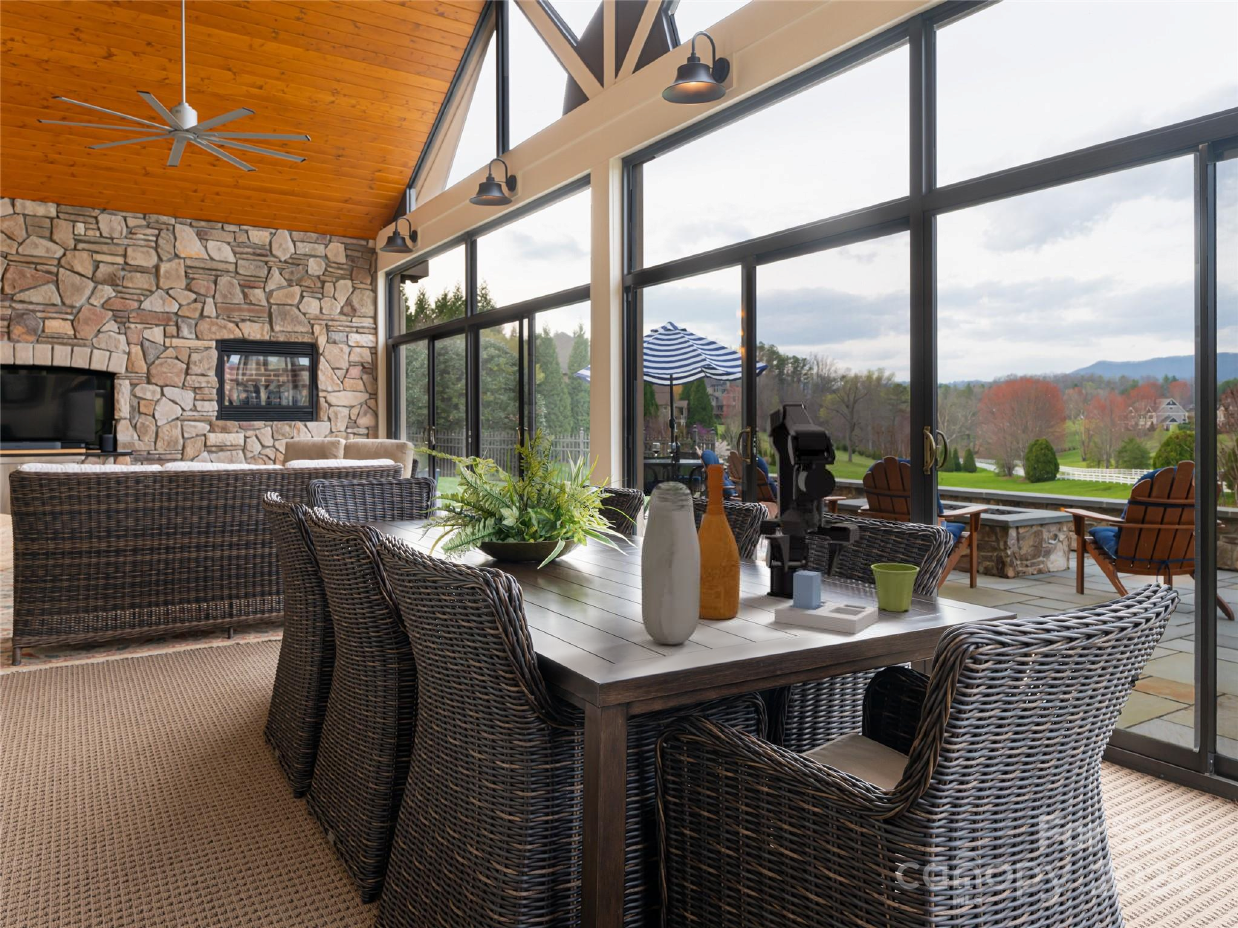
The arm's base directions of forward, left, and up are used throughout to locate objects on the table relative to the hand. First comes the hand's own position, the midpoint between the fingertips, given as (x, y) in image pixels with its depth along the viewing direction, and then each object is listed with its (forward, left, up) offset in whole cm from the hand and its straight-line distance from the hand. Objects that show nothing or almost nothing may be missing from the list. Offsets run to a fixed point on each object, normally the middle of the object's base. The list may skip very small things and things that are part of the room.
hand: (807, 573), depth 168 cm
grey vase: (-12, -31, -9) cm, 35 cm away
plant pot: (+11, +19, -9) cm, 24 cm away
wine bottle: (-16, -8, -9) cm, 20 cm away
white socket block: (+4, 0, -9) cm, 10 cm away
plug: (0, 0, -9) cm, 9 cm away
